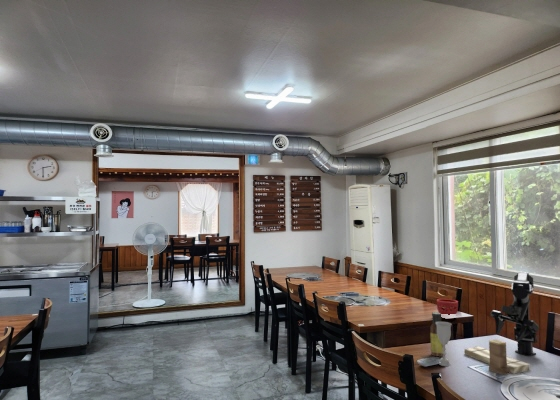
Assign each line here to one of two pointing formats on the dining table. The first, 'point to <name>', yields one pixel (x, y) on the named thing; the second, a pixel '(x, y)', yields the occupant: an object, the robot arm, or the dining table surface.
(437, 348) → the sauce bottle
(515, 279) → the robot arm
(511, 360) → the board
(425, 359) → the dining table surface
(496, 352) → the tan pillar on plinth
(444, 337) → the chalice
